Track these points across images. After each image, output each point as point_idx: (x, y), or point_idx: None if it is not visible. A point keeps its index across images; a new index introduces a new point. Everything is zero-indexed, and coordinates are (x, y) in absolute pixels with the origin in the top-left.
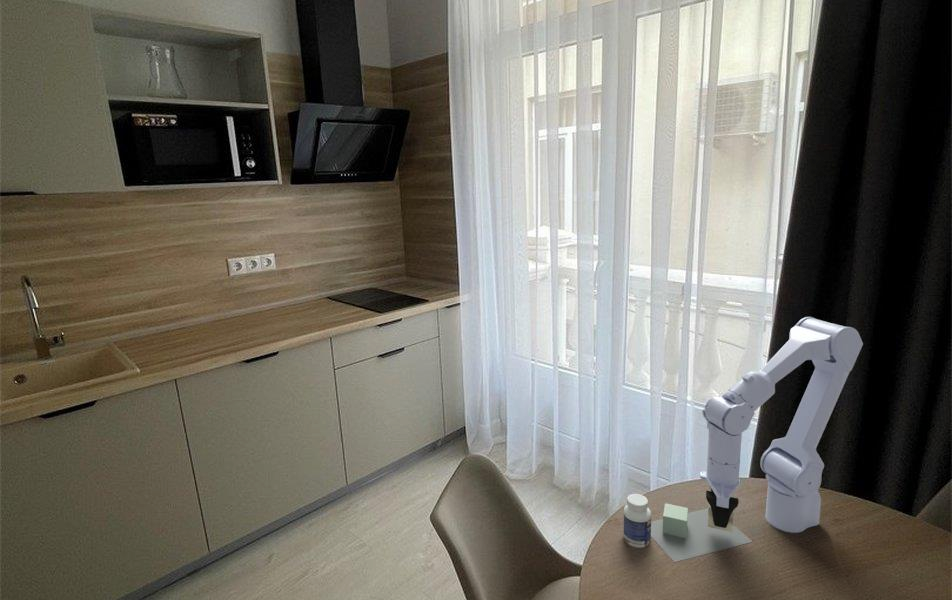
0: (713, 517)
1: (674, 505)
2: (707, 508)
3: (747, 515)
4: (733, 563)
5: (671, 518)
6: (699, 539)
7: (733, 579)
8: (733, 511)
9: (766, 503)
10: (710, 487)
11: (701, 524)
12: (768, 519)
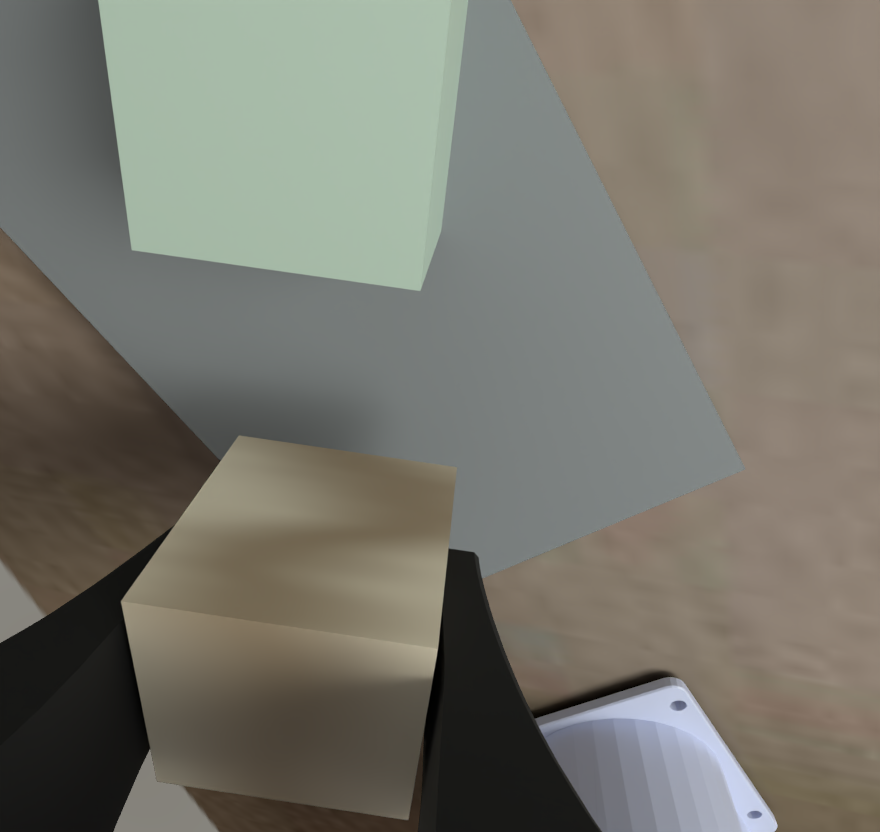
0: (121, 567)
1: (435, 99)
2: (727, 433)
3: (686, 639)
4: (158, 481)
5: (113, 31)
6: (262, 315)
7: (12, 457)
8: (176, 782)
9: (677, 828)
10: (441, 781)
11: (477, 356)
12: (599, 742)
